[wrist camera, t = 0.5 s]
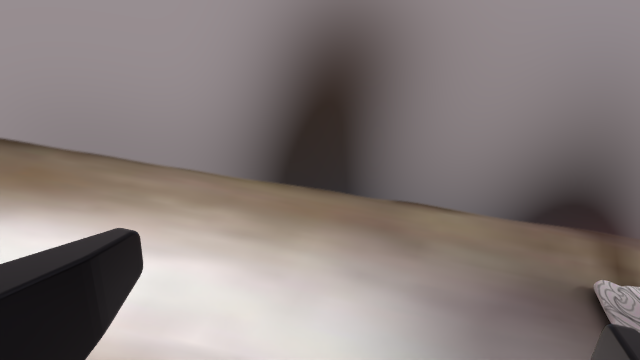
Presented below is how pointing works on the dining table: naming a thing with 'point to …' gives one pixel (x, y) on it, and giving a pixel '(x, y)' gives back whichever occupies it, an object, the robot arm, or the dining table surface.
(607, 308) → the cookie jar
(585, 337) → the dining table surface
